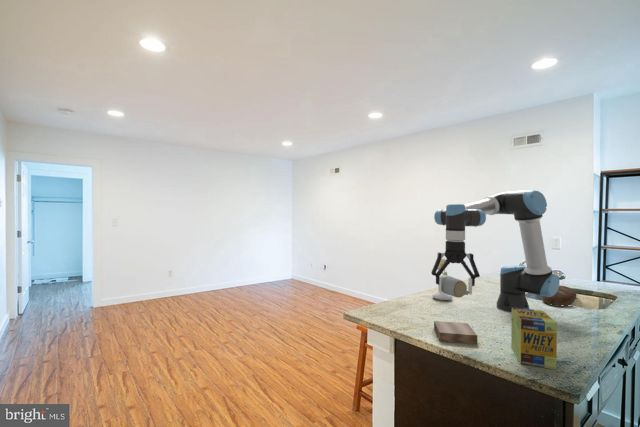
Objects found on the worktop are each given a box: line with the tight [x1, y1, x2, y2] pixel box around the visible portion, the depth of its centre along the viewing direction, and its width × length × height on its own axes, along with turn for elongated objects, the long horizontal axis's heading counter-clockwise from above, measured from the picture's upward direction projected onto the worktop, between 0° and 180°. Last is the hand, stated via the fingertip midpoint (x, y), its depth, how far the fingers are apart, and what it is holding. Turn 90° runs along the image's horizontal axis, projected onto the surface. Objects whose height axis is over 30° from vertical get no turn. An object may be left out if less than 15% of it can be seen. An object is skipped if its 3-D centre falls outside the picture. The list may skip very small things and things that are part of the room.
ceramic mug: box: [441, 275, 470, 298], centre depth 132 cm, size 11×8×8 cm
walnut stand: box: [433, 320, 478, 345], centre depth 132 cm, size 14×14×4 cm
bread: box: [540, 284, 577, 307], centre depth 189 cm, size 16×36×8 cm, turn 135°
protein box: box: [510, 307, 558, 370], centre depth 112 cm, size 10×15×16 cm
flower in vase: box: [432, 258, 454, 301], centre depth 188 cm, size 13×11×25 cm
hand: (454, 293), depth 132 cm, fingers closed on ceramic mug, 11 cm apart
